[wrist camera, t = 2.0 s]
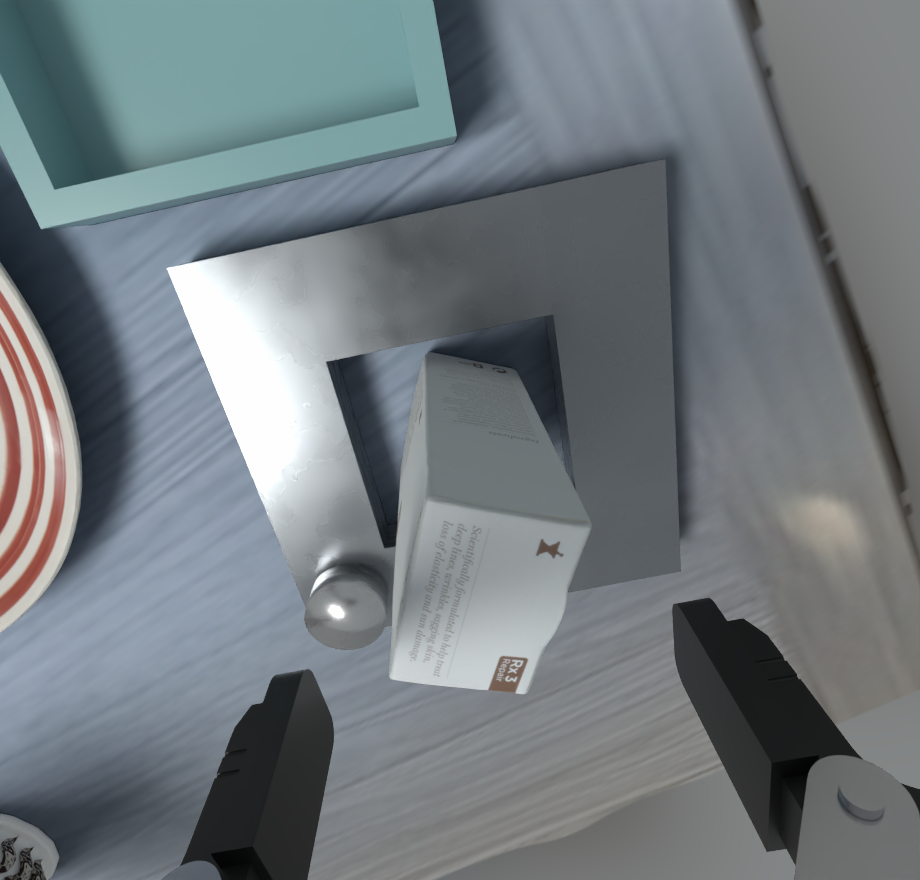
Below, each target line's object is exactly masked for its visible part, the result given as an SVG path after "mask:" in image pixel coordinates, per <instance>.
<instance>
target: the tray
mask: <svg viewBox="0 0 920 880" xmlns="http://www.w3.org/2000/svg"><path fill="white" fill-rule="evenodd" d="M456 137H457V133H456V128H455V122H454V116H453V111H452V105H451V99H450V94H449V88H448V82H447V77H446V71H445V65H444V60H443V54H442V49H441V43H440V37H439V32H438V26H437V20H436V15H435V9H434V3H433V0H0V146H1V148H2V150H3V152H4V154H5V157H6V159H7V161H8V163H9V165H10V167H11V169H12V171H13V173H14V175H15V177H16V179H17V181H18V183H19V185H20V187H21V189H22V191H23V193H24V195H25V197H26V200H27V202H28V204H29V206H30V208H31V210H32V212H33V214H34V216H35V218H36V220H37V222H38V224H39V226H40V228H41V229H48V228H61V227H73V226H85V225H95V224H99V223H104V222H108V221H113V220H117V219H122V218H126V217H131V216H135V215H139V214H144V213H148V212H153V211H157V210H162V209H166V208H171V207H175V206H180V205H184V204H189V203H193V202H198V201H202V200H207V199H211V198H215V197H220V196H224V195H229V194H233V193H238V192H242V191H247V190H251V189H256V188H260V187H265V186H269V185H274V184H278V183H282V182H287V181H291V180H296V179H300V178H305V177H309V176H314V175H318V174H323V173H327V172H332V171H336V170H341V169H345V168H349V167H354V166H358V165H363V164H367V163H372V162H376V161H381V160H385V159H390V158H394V157H399V156H403V155H408V154H412V153H416V152H421V151H425V150H430V149H434V148H439V147H443V146H448V145H452V144H454V142H455V140H456Z"/></svg>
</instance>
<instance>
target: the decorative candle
mask: <svg viewBox="0 0 920 880" xmlns="http://www.w3.org/2000/svg"><path fill="white" fill-rule="evenodd" d="M58 860H59V854H58V851H57V849H56V846H55V844H54V842H53V841H52V840H51V839H50V838H49V837H48V836H47V835H46V834H44V833H43V832H42V831H41V830H40V829H39V828H38V827H36V826H34V825H31V824H29V823H27V822H25V821H23V820H21V819H19V818H17V817H14V816H11V815H6V814H2V813H0V880H48V879H49V878H50V877H51V876H52V875H53V873H54V872H55V870H56V866H57V863H58Z"/></svg>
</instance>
